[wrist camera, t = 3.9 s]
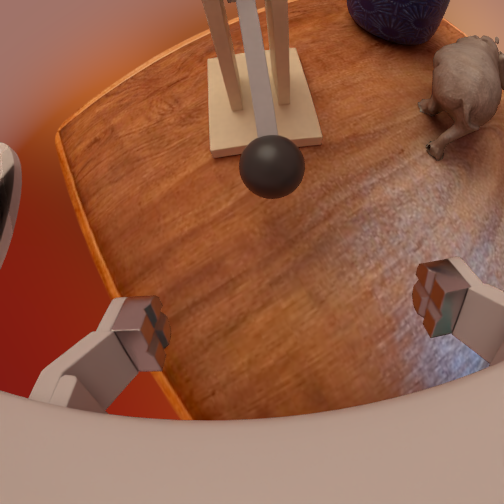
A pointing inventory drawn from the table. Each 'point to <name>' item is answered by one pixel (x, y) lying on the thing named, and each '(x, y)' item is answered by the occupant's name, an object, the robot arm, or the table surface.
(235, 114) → the bracket
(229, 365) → the table surface
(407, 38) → the planter
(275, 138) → the lever
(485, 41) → the rhinoceros figurine
